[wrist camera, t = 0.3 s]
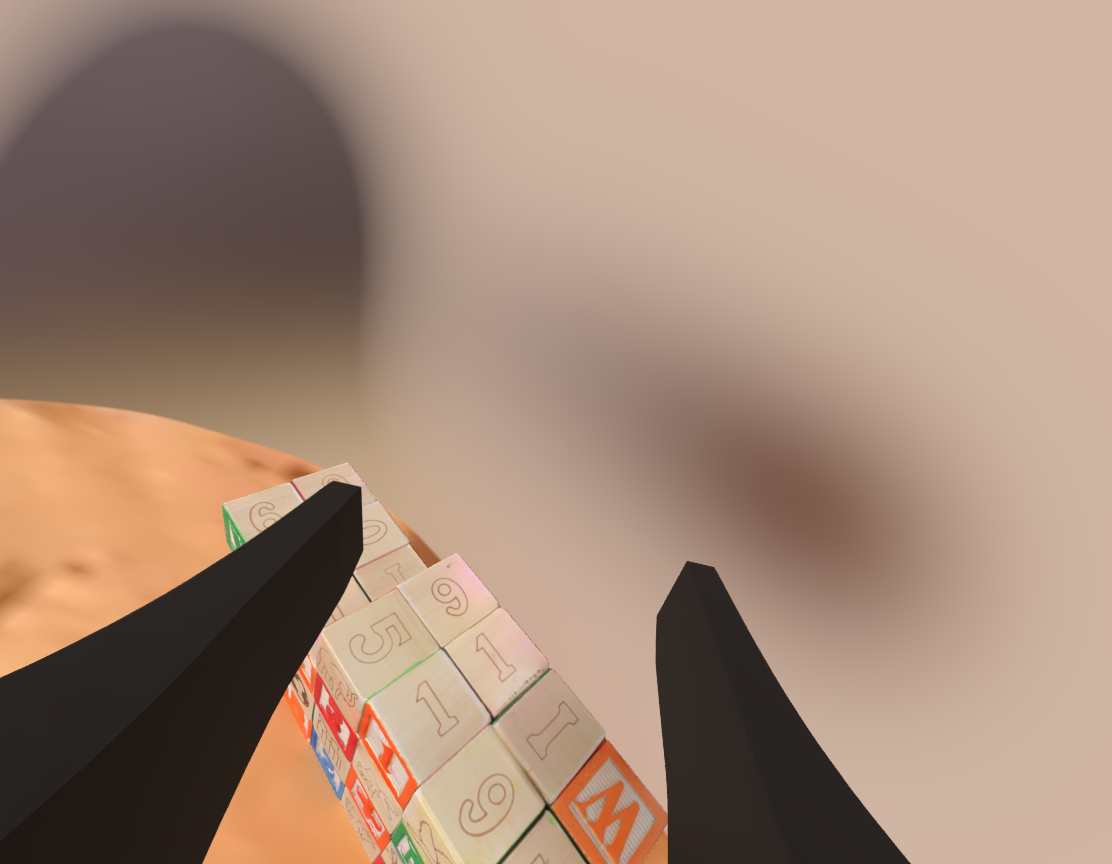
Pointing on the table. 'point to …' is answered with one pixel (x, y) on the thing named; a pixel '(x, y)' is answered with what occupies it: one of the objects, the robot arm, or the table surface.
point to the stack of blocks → (449, 714)
